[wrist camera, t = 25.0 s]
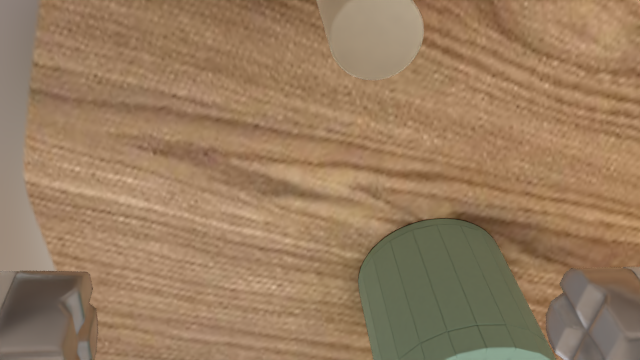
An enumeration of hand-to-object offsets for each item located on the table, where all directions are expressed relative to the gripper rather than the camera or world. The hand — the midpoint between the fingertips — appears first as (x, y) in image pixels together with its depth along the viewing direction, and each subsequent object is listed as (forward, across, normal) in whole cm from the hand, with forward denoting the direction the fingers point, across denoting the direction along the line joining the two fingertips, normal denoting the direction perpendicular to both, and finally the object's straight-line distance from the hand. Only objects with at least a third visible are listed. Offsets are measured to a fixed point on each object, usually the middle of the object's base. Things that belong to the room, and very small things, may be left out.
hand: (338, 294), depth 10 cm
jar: (+20, -12, +20) cm, 31 cm away
